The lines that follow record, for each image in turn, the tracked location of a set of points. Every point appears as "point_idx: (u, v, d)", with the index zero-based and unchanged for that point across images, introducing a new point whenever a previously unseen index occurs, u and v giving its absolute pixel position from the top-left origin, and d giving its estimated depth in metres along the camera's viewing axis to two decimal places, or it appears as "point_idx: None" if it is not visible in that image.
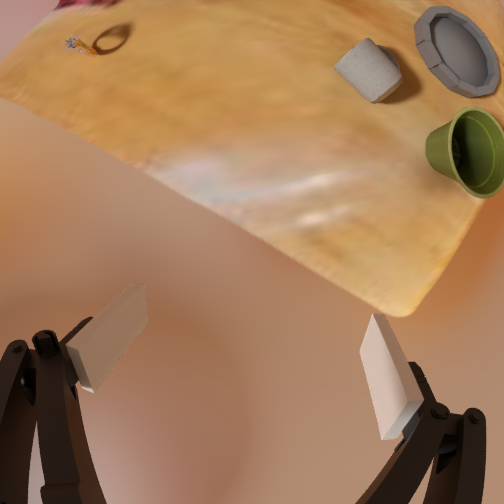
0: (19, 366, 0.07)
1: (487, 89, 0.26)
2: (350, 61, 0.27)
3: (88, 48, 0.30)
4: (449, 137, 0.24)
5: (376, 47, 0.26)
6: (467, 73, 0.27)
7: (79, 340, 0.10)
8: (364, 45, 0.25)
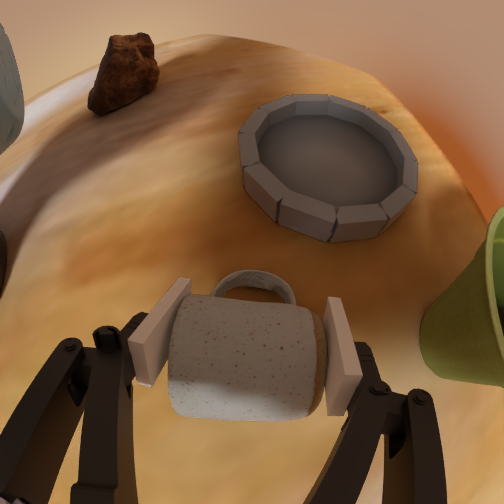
0: (69, 366, 0.08)
1: (411, 166, 0.22)
2: (190, 401, 0.12)
3: None
4: None
5: (212, 309, 0.14)
6: (370, 177, 0.24)
7: (141, 334, 0.11)
8: (183, 338, 0.12)
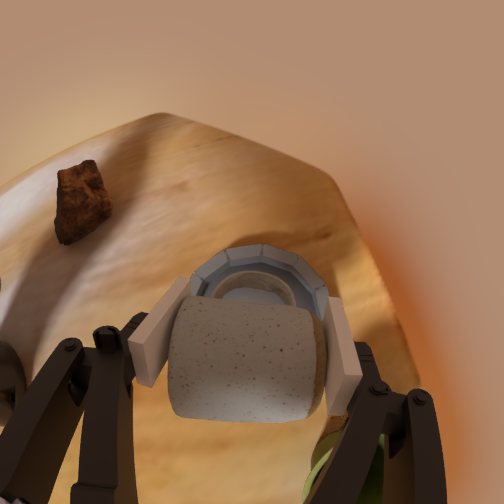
0: (69, 366, 0.08)
1: None
2: (190, 402, 0.12)
3: None
4: None
5: (212, 311, 0.14)
6: None
7: (141, 334, 0.11)
8: (183, 340, 0.12)
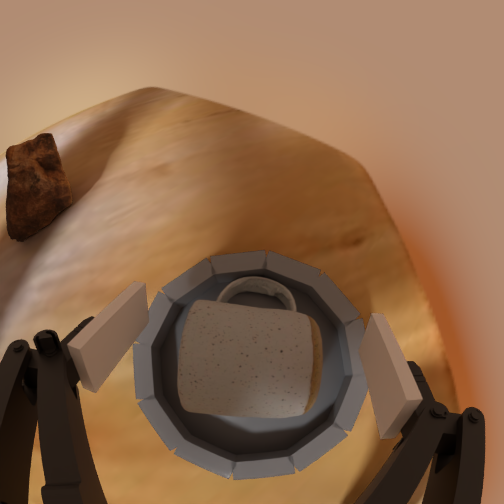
0: (20, 366, 0.07)
1: (357, 389, 0.17)
2: (197, 397, 0.13)
3: None
4: None
5: (219, 315, 0.15)
6: None
7: (81, 340, 0.10)
8: (192, 341, 0.14)
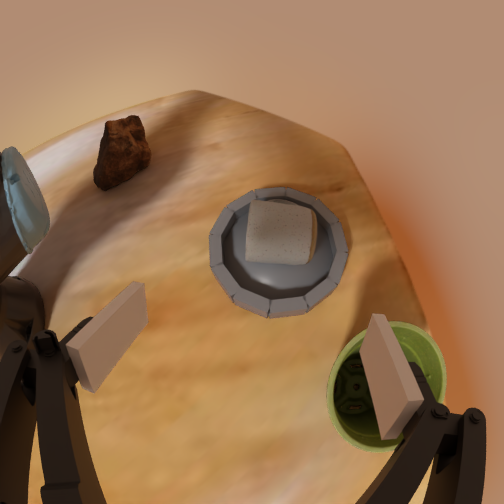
0: (19, 366, 0.07)
1: (340, 259, 0.33)
2: (256, 238, 0.29)
3: None
4: (340, 432, 0.18)
5: (266, 202, 0.31)
6: (307, 266, 0.35)
7: (79, 340, 0.10)
8: (255, 209, 0.30)
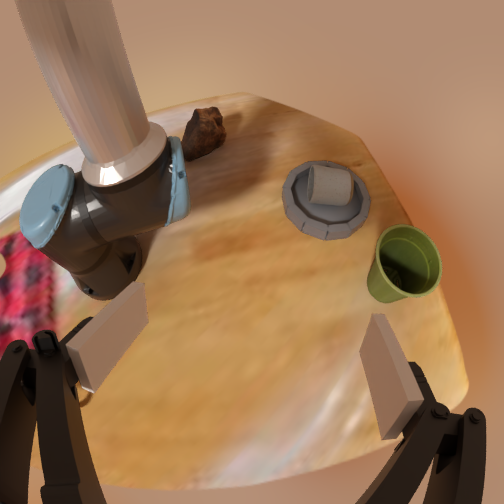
0: (19, 366, 0.07)
1: (366, 203, 0.50)
2: (320, 185, 0.47)
3: None
4: (387, 281, 0.35)
5: (322, 166, 0.49)
6: (345, 209, 0.52)
7: (79, 340, 0.10)
8: (317, 168, 0.47)
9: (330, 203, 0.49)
